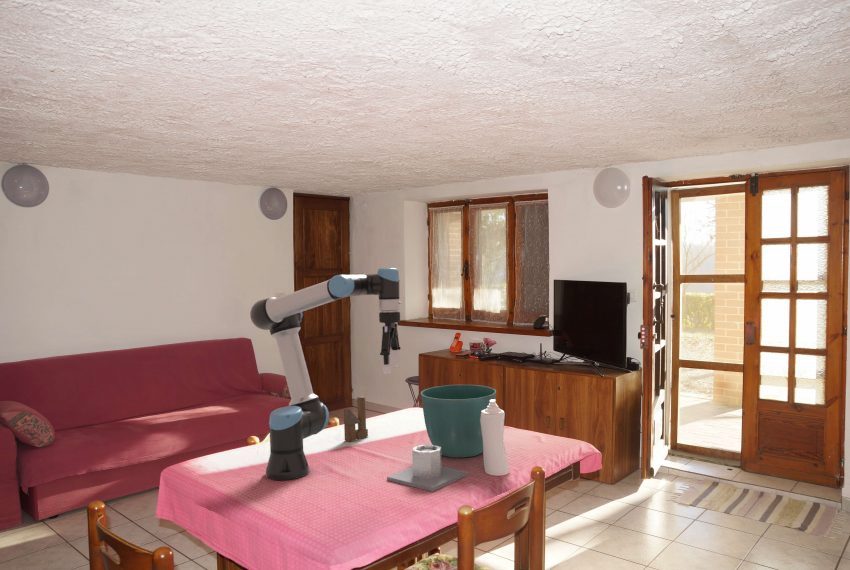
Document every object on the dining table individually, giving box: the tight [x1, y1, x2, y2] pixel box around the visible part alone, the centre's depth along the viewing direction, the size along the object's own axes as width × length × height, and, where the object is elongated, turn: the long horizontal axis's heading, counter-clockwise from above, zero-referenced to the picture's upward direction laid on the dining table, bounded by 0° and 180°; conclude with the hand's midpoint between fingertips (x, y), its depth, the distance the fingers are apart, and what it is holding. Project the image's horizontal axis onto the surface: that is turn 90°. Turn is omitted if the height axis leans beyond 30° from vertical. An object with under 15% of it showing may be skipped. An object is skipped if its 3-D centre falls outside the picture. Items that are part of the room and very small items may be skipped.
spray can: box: [480, 399, 510, 477], centre depth 219 cm, size 12×11×25 cm
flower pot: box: [420, 384, 497, 459], centre depth 243 cm, size 30×30×24 cm
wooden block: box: [343, 395, 369, 443], centre depth 267 cm, size 4×11×18 cm, turn 139°
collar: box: [411, 444, 443, 479], centre depth 213 cm, size 10×10×9 cm
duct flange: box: [386, 449, 469, 493], centre depth 213 cm, size 20×20×9 cm
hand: (391, 370), depth 218 cm, fingers open, 13 cm apart
